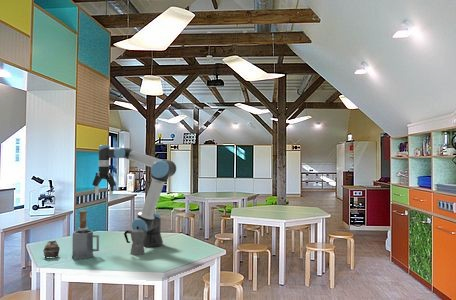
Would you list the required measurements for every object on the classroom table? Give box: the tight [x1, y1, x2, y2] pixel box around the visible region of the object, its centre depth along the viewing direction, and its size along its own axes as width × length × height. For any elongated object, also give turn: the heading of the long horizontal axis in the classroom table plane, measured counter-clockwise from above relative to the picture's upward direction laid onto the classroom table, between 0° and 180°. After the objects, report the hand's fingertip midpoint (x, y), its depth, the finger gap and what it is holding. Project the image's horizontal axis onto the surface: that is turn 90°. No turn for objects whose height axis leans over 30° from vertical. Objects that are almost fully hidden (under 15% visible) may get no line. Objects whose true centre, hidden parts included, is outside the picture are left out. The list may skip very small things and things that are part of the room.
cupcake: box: [43, 240, 60, 258], centre depth 250 cm, size 10×10×10 cm
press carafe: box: [71, 229, 100, 260], centre depth 249 cm, size 16×13×16 cm
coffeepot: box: [123, 226, 148, 256], centre depth 257 cm, size 15×9×18 cm, turn 107°
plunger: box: [77, 209, 89, 233], centre depth 250 cm, size 8×8×23 cm
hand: (103, 195), depth 281 cm, fingers open, 13 cm apart
